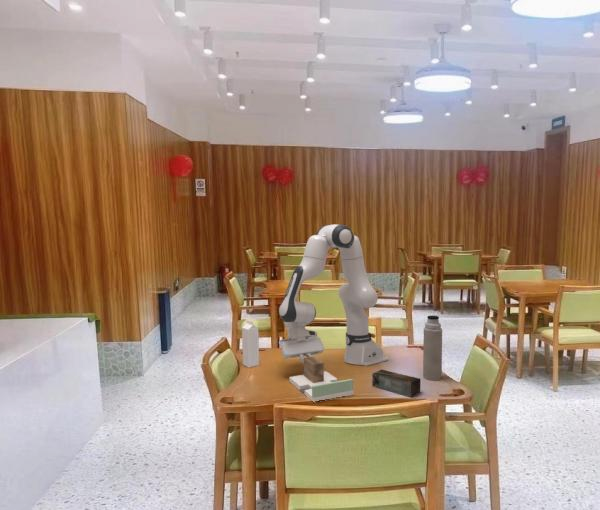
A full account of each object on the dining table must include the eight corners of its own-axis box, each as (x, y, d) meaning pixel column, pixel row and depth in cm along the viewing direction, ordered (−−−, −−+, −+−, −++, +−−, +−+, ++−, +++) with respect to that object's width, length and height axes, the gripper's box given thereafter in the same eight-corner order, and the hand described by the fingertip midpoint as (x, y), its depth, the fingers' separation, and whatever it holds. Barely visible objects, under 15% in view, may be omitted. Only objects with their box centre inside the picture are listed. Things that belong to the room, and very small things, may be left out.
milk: (248, 367, 216) (247, 323, 213) (242, 364, 220) (241, 321, 218) (259, 365, 219) (258, 321, 217) (253, 361, 224) (252, 319, 222)
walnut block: (313, 373, 200) (313, 356, 199) (323, 381, 191) (323, 363, 190) (303, 375, 198) (303, 358, 197) (313, 383, 189) (313, 364, 188)
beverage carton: (381, 381, 196) (381, 367, 195) (421, 392, 183) (421, 377, 182) (371, 386, 190) (371, 371, 189) (412, 398, 177) (412, 382, 176)
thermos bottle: (423, 373, 204) (424, 313, 202) (441, 375, 202) (442, 314, 199) (422, 379, 197) (423, 317, 194) (441, 381, 194) (442, 318, 192)
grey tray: (325, 375, 204) (325, 361, 203) (353, 394, 181) (353, 379, 180) (289, 381, 197) (289, 367, 196) (313, 402, 174) (313, 386, 173)
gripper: (279, 336, 202) (287, 363, 194) (319, 331, 210) (329, 357, 202) (276, 343, 206) (284, 370, 198) (315, 338, 214) (325, 363, 206)
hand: (307, 363), depth 200 cm, fingers closed
